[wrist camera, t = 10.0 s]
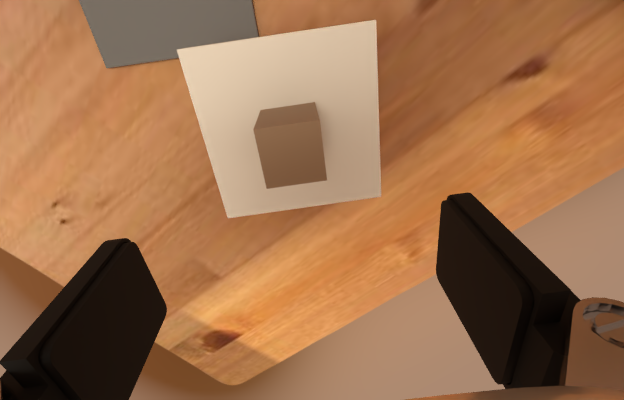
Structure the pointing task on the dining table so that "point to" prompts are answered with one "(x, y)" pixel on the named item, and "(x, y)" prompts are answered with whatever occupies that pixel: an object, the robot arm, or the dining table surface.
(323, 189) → the lid
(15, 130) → the dining table surface
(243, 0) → the grey flat square slab
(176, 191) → the dining table surface
